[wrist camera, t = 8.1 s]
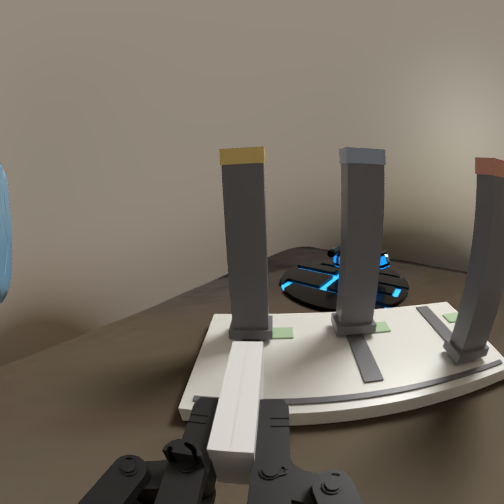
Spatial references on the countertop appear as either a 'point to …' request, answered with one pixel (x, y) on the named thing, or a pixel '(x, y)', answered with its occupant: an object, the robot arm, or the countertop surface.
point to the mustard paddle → (246, 241)
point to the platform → (326, 283)
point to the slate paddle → (359, 239)
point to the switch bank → (349, 365)
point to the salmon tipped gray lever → (482, 267)
